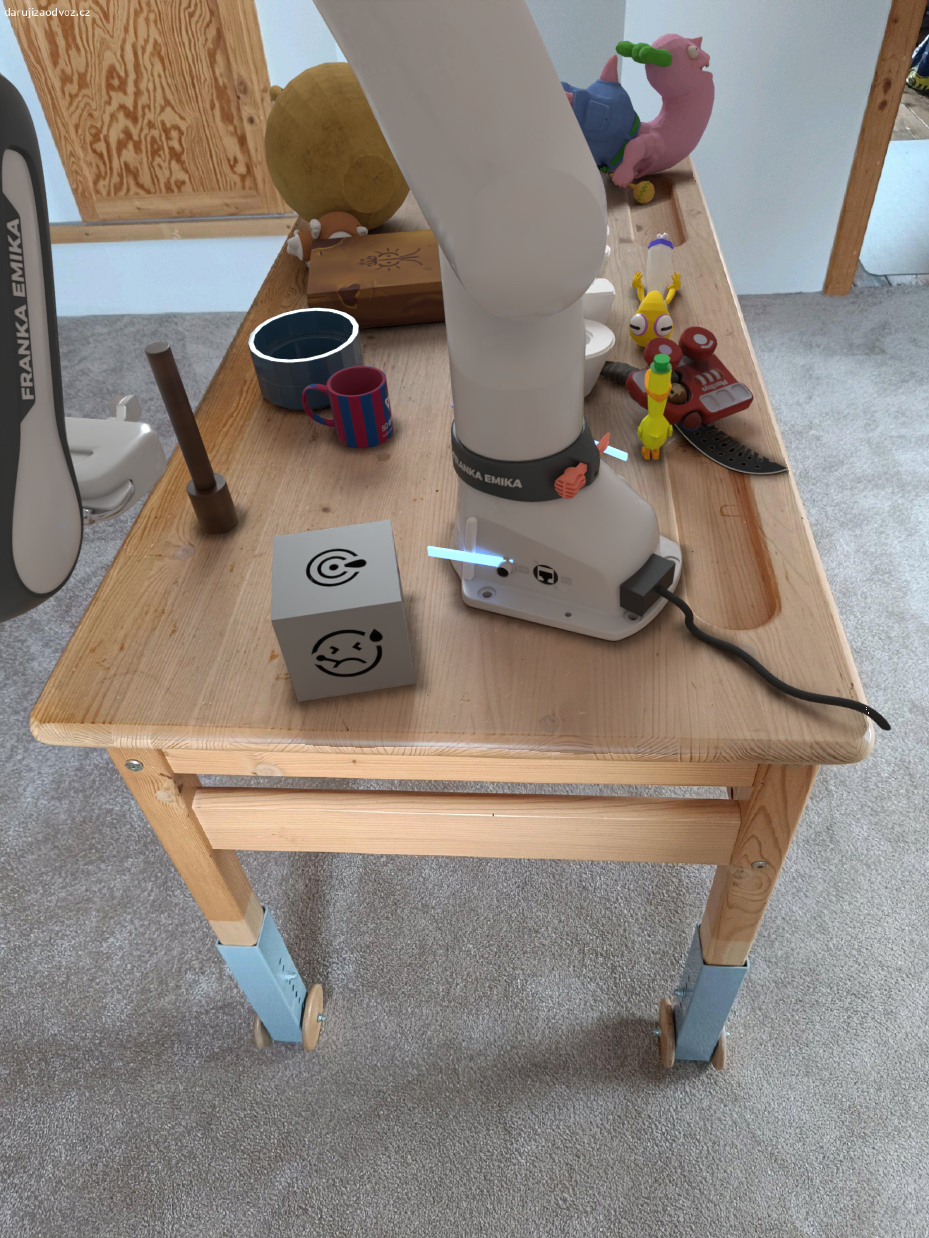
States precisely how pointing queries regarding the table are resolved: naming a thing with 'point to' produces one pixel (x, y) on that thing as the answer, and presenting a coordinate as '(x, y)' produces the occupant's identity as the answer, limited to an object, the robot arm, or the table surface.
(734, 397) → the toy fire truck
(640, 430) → the toy figure
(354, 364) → the bowl
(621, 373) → the knife
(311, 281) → the carved wooden box
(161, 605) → the table surface
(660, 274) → the character
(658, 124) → the toy
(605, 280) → the wavy white extrusion
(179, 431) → the cylinder
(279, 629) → the icon cube
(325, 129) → the tan rounded lump
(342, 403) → the cup
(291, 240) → the figurine
